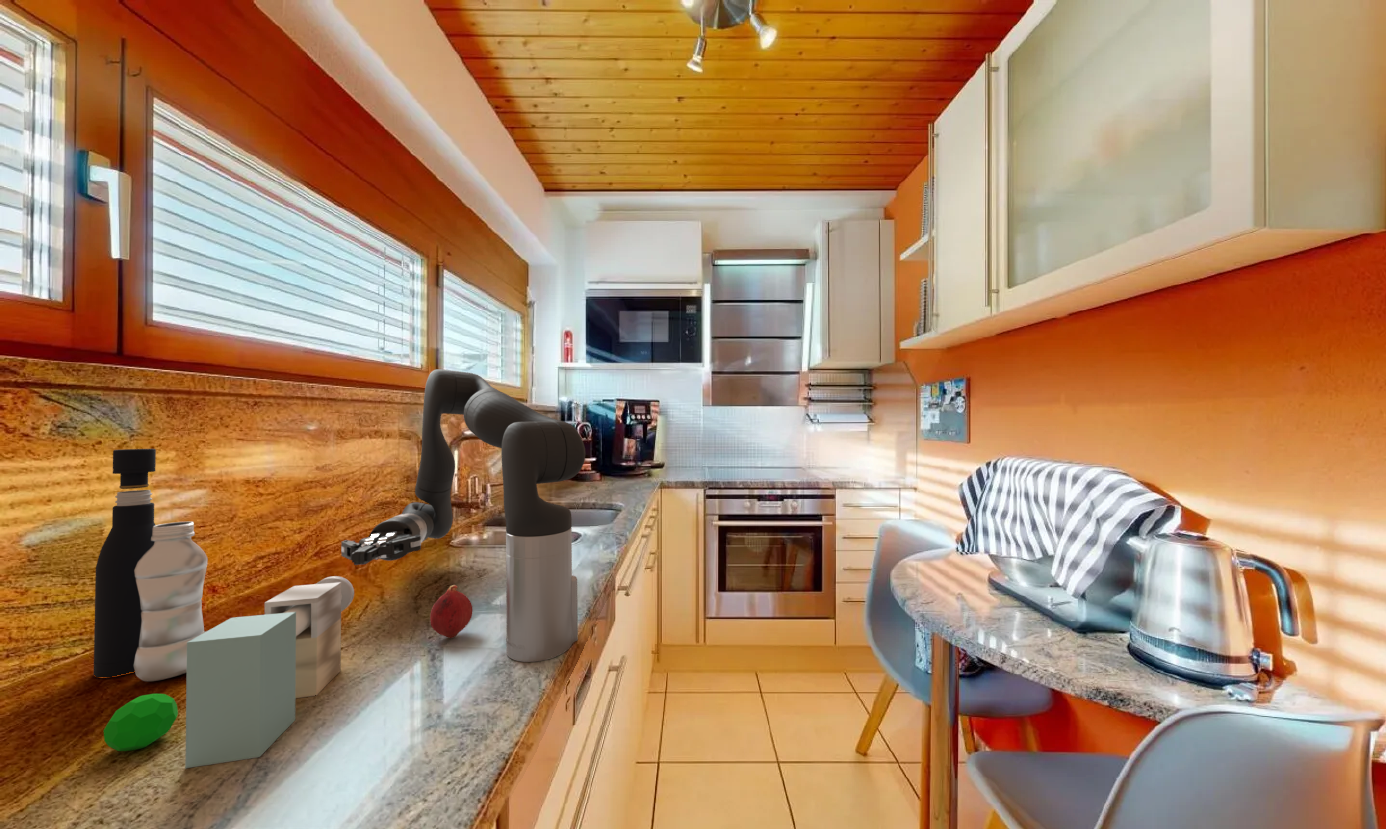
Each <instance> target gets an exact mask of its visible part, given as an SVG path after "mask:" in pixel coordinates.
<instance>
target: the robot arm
mask: <svg viewBox="0 0 1386 829" xmlns="http://www.w3.org/2000/svg"><path fill="white" fill-rule="evenodd" d="M422 409H423V410H422V411H423V412H422V423H421V424H422V429H421V431H422V432H421V453H420V460H419V461H420V462H419V467H418V471H417V476H416V481H415V482H416V483H415V488H414V494H415V496H416V497H417V498H418V499H419V500H421V501H423V502H419V501H418V502H410V503H408V504H407V505H406V506H405V507H404V509H403V510H402V513H401V514H398V515H395V516H393V517H391V518H389V519H387V520H384V521H382V522H379V523H378V524H377V525H376V526H374V528H372V530H371V531H370V533H369V535H368V537H364V538H363V537H362V538H361V539H360V540H359V541H358V542H356V540H348V539H345V540H343V541H341V544H340V545H341V551H340V553H341V557H343V558H346V559H348V560H349V561H351V563H353V565H355V566H358V565H361V566H362V565H367V564H369V563H370V562H372V561H374V560H375V561H376V560H379V559H380V560H383V561H387V562H388V561H389V562H391V561H397V560H399V559H402V558H404V557H405V556H406V555H408V554H410V553H412V552H417V551H420V550H422V549H421V548H422V547H421V546H422V543H423V542H425V541H426V540H427V539H428V538H430V539H436V540H437V539H441V538H444V537H445V536H446V535H447V534H448V533H449V532H450V530H451V529H452V526H453V520H454V516H453V509H452V500H451V491H452V485H453V480H454V476H455V471H456V462H455V458H454V457H455V456H454V453H453V452H452V450H451V448H450V446H449V443H448V442H447V441H446V438H445V436H444V434H443V430H442V426H441V425H442V424H441V419H442V415H447V414H448V415H461V416H462V415H463V420H464V423H465V425H466V427H467V429H468V430H469V431H470V432H471V433H472V434H473V435H475V436H476V437H477V438H478V439H479V440H481V441H482V442H484V443H486V444H488V445H490V446H492V447H496V448H499V449H501V451H500V452H501V472H502V486H503V490H502V491H503V510H504V517H505V518H504V519H505V555H506V556H505V559H506V561H505V564H506V566H505V568H506V569H505V578H506V580H505V581H506V582H505V585H506V586H505V587H506V588H505V590H506V593H505V595H506V597H505V598H506V599H505V600H506V602H505V604H506V605H505V607H506V608H505V611H506V616H505V618H506V620H505V621H506V625H505V626H506V627H505V628H506V635H505V636H506V637H505V638H506V639H505V640H506V641H505V642H506V644H505V645H506V655H507V657H508V658H510V659H511V660H514V661H516V662H517V661H518V662H525V663H526V662H527V663H528V662H531V663H532V662H541V661H546V660H549V659H552V658H556V657H558V656H560V655H562V654H564V653H565V652H566V651H568V650H569V649H570V648H571V646H573V645H572V644H573V643H574V642H577V641H578V636H579V633H578V630H579V629H578V627H579V625H578V623H579V622H578V615H579V614H578V578H577V576H576V575H573V562H572V561H573V553H572V552H573V550H572V548H573V546H572V541H573V540H572V537H573V535H572V520H573V519H572V512H571V510H570V508H568V507H566V506H563V505H560V504H555V503H551V502H548V501H545V500H544V499H543V498H541V497H540V495H539V493H538V487H537V486H538V485H539V484H549V483H558V482H559V483H561V482H563V481H567V480H569V479H572V478H574V477H575V476H576V475H578V474H579V473H580V471H581V470H582V468H583V466H584V465H585V460H586V448H585V444H584V441H583V439H582V437H581V435H580V433H579V432H578V430H577V429H576V428H575V427H574V426H573V425H572V424H570V423H568V422H566V421H563V420H559V419H556V418H553V417H550V416H547V415H544V414H542V413H539V412H538V411H536V410H535V409H532V408H531V407H529V406H527V405H526V404H524V403H522V402H520V401H518V400H517V399H515V398H514V397H513V396H510V395H508V394H507V393H505V392H502V391H500V390H498V389H497V388H495V387H493V386H491V385H490V384H489V382H488V381H486V380H485V378H483V377H482V376H481V375H478V374H476V373H472V372H468V371H467V372H466V371H459V370H448V369H441V368H440V369H434V370H432V371H431V372H430V374H429V375H428V376H427V379H426V383H425V388H424V397H423V408H422ZM424 502H425V503H424Z"/></svg>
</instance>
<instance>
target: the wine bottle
mask: <svg viewBox="0 0 1386 829" xmlns="http://www.w3.org/2000/svg"><path fill="white" fill-rule="evenodd" d="M156 452H157V449H156V448H130V449H127V448H125V449H113V450H112V474H113V475H115V474H116V475H117V474H119V475H120V477H119V478H120V480H119V481H120V483H119V489H120V490H121V489H122V490H125V491H118V492H116V495H115V497H114V498H116V500H115V501H114V502H115V503H116V505H114V506H112V513H111V514H112V517H111V518H112V521H111V522H112V523H111V528H110V531H109V532H108V534H107V537H106V538H105V540H104V542H103V544H102V546H101V549H100V552H99V555H98V558H97V563H96V566H95V579H94V580H95V583H94V586H95V587H94V592H95V593H94V627H93V628H94V629H93V631H94V635H93V636H94V637H93V644H94V645H93V676H94V675H95V676H96V677H112V676H117V675H121V674H126V673H129V672H134V671H135V670H134V666H133V665H134V660H135V655H136V651H137V648H138V646H139V638H140V630H141V622H142V619H141V612H142V610H141V606H140V596H139V592H138V588H137V583H136V577H135V572H134V570H135V567H136V565H137V563H138V561H139V560H140V559H141V558H142V556H143V555H144V554H145V553H146V552H147V551H148V550H149V549H150V548H151V547H152V546H153V545H154V542H155V541H151V537H152V532H153V526H156V525H157V524H156V523H155V503H154V502H152V500H153V498H152V497H151V496H152V495H153V493H152V492H151V489H143V488H148V487H149V473H155V472H156V467H157V466H156V463H157V462H156V460H157V459H156V458H157V454H156ZM140 488H141V490H139V489H140ZM130 489H131V490H130ZM132 489H137V490H132Z"/></svg>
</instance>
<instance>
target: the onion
mask: <svg viewBox="0 0 1386 829" xmlns="http://www.w3.org/2000/svg"><path fill="white" fill-rule="evenodd" d="M473 610H474V609H473V605H472V602H471V601H470V599H469V598H468V596H467V595H466V594H464V593H463V592H461V591H459V590H458V586H457V585H456V584H453V585H450V586H449V587H448V588H447V590H446V592H445V593H444V594H442V595H440V597H438V599H437V600H436V601H435V602H434V604H433V606H432V607H431V611H430V614H429V621H430V626H431V628H432V629H433V631H435V633H437V634H439V635H441V636H443V637H445V638H448V639H453V638H456V636H457V635H459V633H460V632H461V631H463V630H465V628H466V627H467V626H468V624H469V623H470V620H472V618H473V612H474V611H473Z"/></svg>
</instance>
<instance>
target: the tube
mask: <svg viewBox="0 0 1386 829" xmlns="http://www.w3.org/2000/svg"><path fill="white" fill-rule="evenodd" d="M337 582H341V613H342V612H343V611H344V610H345V609H347V608H348V607H349V606H350V605H351V603H352V602H353V600H354V597H355V589H354V587H353V586H354V585H353V584H352V583H351V582H350V581H349V580H348V579H347V578H345V577H342V576H339V575H338V576H337V575H334V576H331V575H330V576H327V577H325V578H323V579H321V580H320V581H318V582H317V583H315V584H325V583H337ZM289 612H296V636H297V635H299V634H300V633H301V632H303V631H304V630H305V629H307V628H308V627H309V626H311V604H300V605H295V606H293V607H292V608H290V609H288V610H287V611H285V612H284V613H289Z"/></svg>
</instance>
